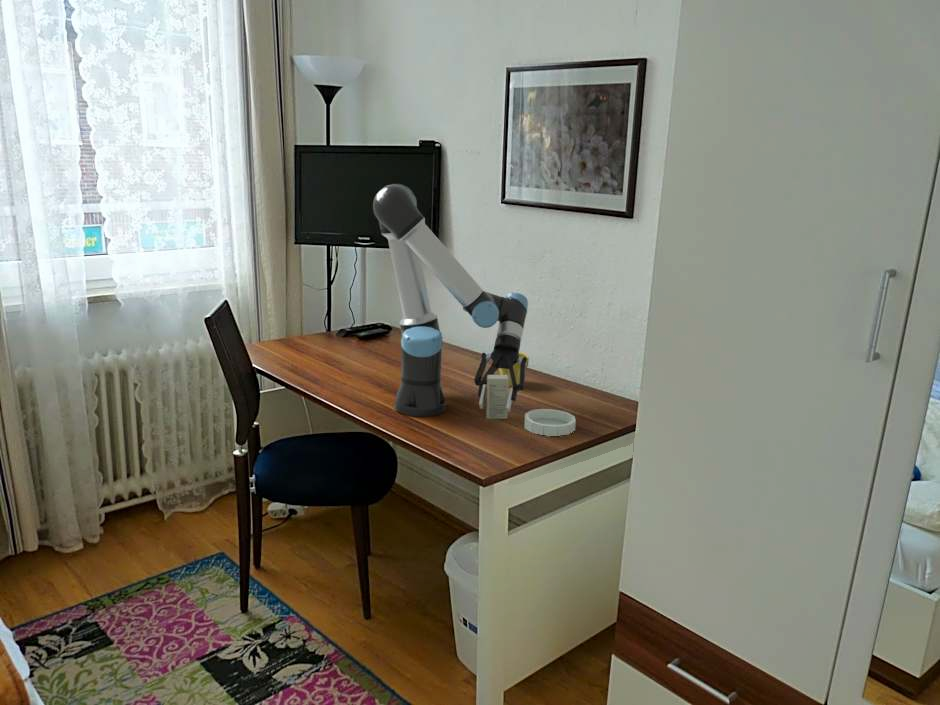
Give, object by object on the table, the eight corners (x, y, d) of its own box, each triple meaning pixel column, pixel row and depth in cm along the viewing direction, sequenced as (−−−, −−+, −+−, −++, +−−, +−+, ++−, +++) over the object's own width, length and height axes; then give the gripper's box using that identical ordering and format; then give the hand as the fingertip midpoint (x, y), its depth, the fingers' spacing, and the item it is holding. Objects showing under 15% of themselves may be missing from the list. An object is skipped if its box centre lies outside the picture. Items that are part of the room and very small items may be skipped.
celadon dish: (540, 439, 197) (541, 428, 196) (515, 422, 209) (515, 412, 209) (584, 432, 203) (585, 422, 203) (557, 416, 215) (557, 406, 215)
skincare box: (506, 414, 216) (508, 374, 212) (507, 419, 211) (510, 378, 208) (484, 413, 215) (486, 373, 212) (485, 418, 211) (487, 378, 208)
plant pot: (524, 389, 239) (526, 360, 237) (493, 386, 241) (494, 357, 239) (528, 381, 249) (530, 353, 247) (498, 378, 251) (500, 350, 249)
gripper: (542, 349, 221) (530, 418, 210) (477, 343, 226) (462, 410, 214) (540, 336, 215) (528, 406, 204) (474, 330, 219) (458, 398, 208)
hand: (494, 408), depth 209 cm, fingers open, 7 cm apart
